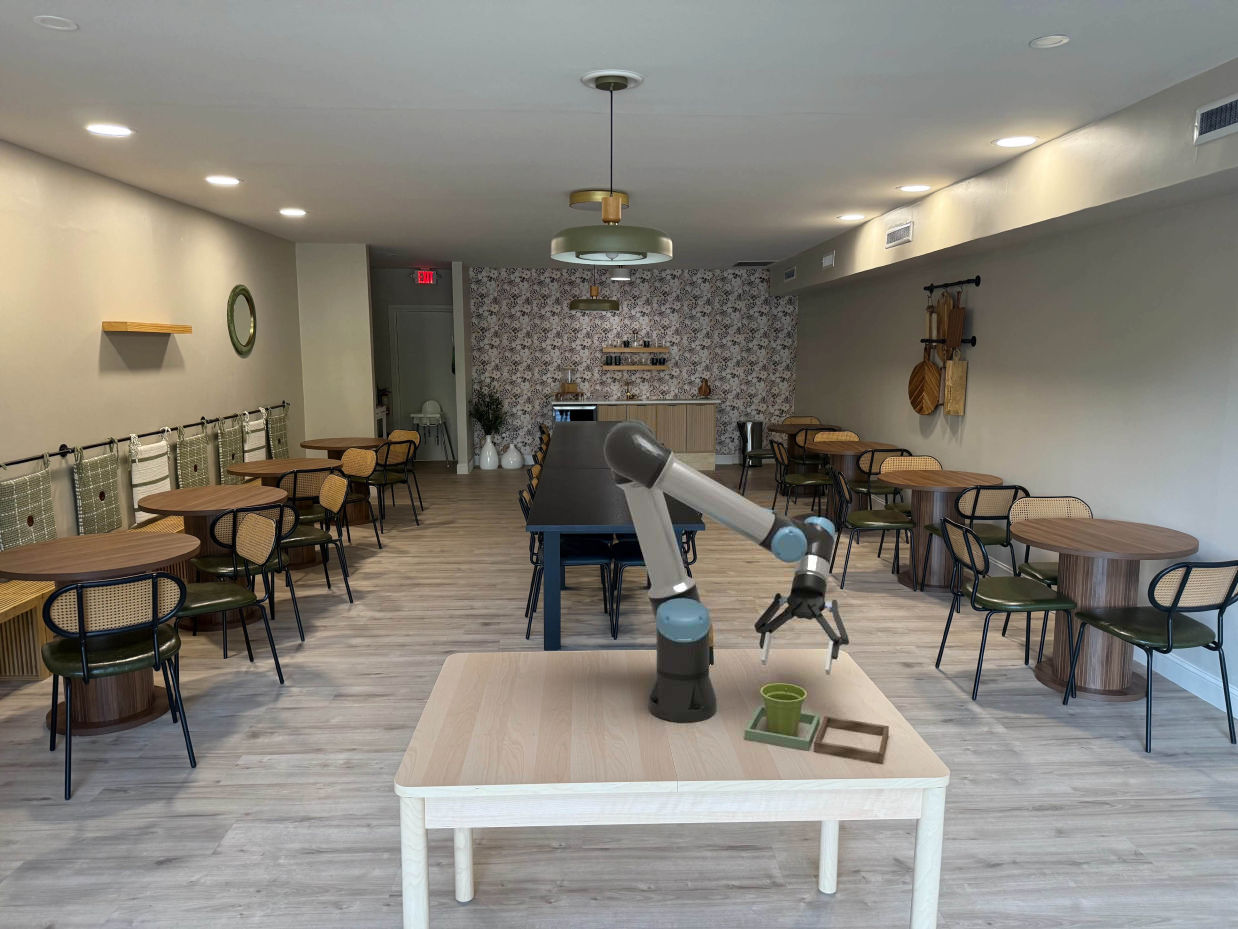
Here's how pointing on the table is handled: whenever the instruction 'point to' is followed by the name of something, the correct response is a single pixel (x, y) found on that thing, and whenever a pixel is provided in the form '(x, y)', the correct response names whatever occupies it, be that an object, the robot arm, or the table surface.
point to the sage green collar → (778, 738)
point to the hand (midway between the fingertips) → (794, 667)
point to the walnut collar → (847, 750)
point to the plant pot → (783, 707)
